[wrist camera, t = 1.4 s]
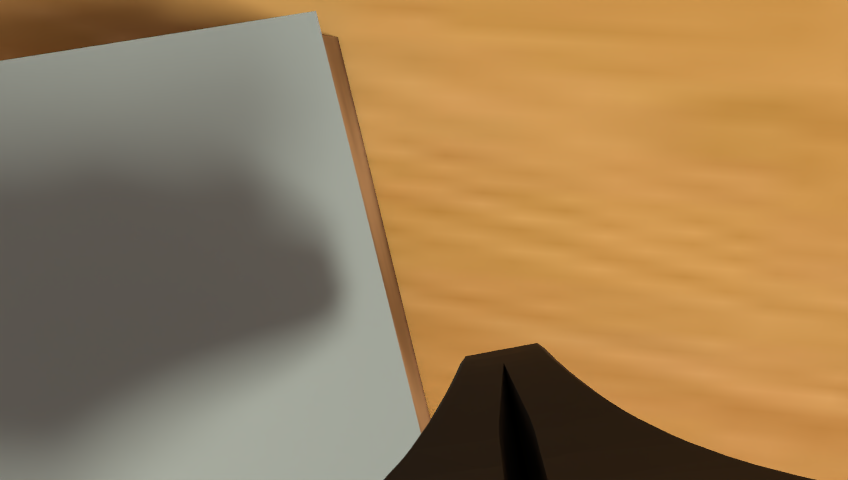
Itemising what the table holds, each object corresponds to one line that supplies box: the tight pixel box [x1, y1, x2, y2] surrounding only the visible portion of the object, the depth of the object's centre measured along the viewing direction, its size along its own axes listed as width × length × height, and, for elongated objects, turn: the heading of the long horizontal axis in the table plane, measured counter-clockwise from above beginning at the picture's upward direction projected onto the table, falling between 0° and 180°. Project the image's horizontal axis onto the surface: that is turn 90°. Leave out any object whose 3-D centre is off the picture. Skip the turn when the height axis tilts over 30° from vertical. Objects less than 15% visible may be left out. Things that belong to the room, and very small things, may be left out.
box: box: [322, 35, 431, 433], centre depth 19 cm, size 14×10×5 cm
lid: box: [0, 11, 421, 480], centre depth 14 cm, size 15×11×3 cm
